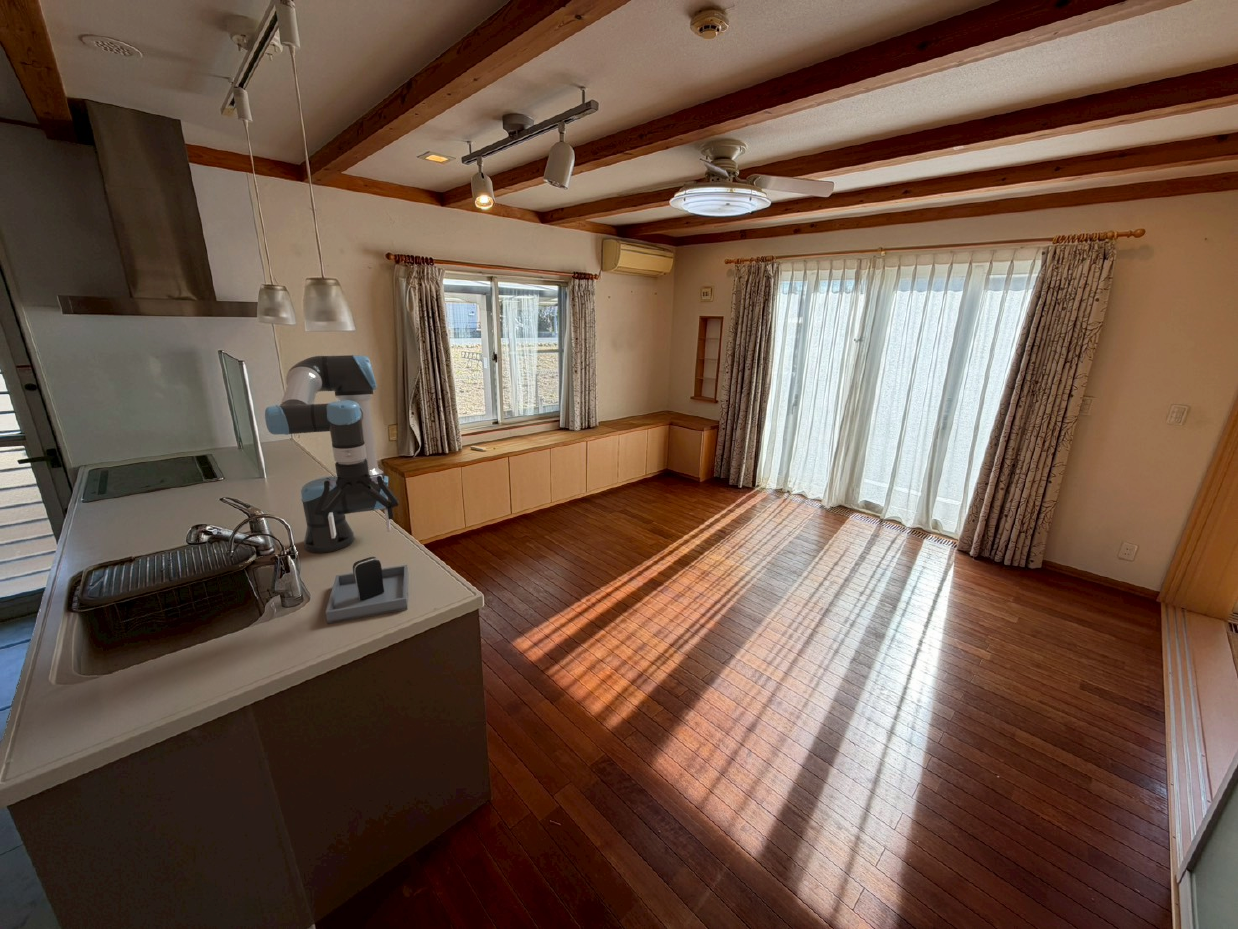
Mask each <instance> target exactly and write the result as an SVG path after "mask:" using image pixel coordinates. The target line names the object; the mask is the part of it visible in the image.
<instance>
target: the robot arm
mask: <svg viewBox="0 0 1238 929" xmlns="http://www.w3.org/2000/svg"><path fill="white" fill-rule="evenodd" d="M376 381H377V380H376V377H375V373H374V371H373V366H372V362H371V360H370V358H369V357H368V356H366V355H354V354H352V355H347V354H346V355H315V356H311V357H307V358H304V359H303V360H300V361H299V362H297V363H295V364H294V365H292V367H291V368H289V370H288V372H287V374H286V376H285V383H286V388H285V391H284V393H283V397H282V399H281V401H280V405H278V404H277V405H272V406H271V405H270V406H267V407H266V408H265V411H264V420H265V425H266V429H267V431H268V433H269V434H272V435H276V436H277V435H286V436H289V435H295V434H308V433H309V434H310V433H323V432H324V433H325V432H329V433H330V439H331V446H332V453H333V459H334V461H335V464H334V465H335V471H336V472H335V473H336V476H335V475H334V476H333V475H332V476H324V477H320V478H316V479H313V480H310V481H309V482H307V483H305V484H304V485H302V487H301V490H300V493H301V502H302V505H303V506H302V507H303V511H304V517H305V522H306V530H305V535H304V540H303V544H304V548H305V550H306V551H307V552H310V553H314V554H321V553H322V554H323V553H331V552H335V551H338V550H341V549H344V548H346V547H348V546H350V545H351V544H352V543H353V542H354V541H355V535H354V532H353V530H352V528H351V526H350V524H349V523H348V521H347V519H346V515H349V514H356V513H363V512H374V511H378V510H384V517H385V525H386V531H387V532H391V520H393V519H394V510H393V508H395V507H398V506H399V504H400V501H399V499H398V498H397V496H396V494H394V492H393V491H392V489H391V488H390V487H389V476H388V475H387V476H386V475H384V471H383V470H382V469H380V468H379V465H378V460H377V459H378V458H377V450H376V449H377V448H376V442H375V434H374V428H373V426H374V425H373V420H372V412H371V404H370V400H371V398H372V397H373V396H374V391H376V390H377V389H378V386H377V382H376ZM318 392H334V397H335V398H336V399H338V400H336V401H332V402H329V403H315V399H316V397H317V396H316V395H317V393H318ZM314 403H315V404H314Z"/></svg>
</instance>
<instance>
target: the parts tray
mask: <svg viewBox="0 0 1238 929" xmlns="http://www.w3.org/2000/svg"><path fill="white" fill-rule="evenodd" d="M381 568H382V567H381ZM408 568H409V567H408V564H403V565H397V566H396V565H395V566H391V567H383V568H382V576H383V587H384V593H381V594H379V595H376V596H374V597H371V598H368V599H365V600H360V599H359V597H358V589H357V585H356V581H355V579H354V574H353V572H351V573H344V574H338V575H337V574H336V575H335V578H334V581H333V585H332V588H331V591H330V596H329V598H328V602H327V607H326V610H325V617H326V618H325V619H326V623H327V625H330V624H335V623H341V622H345V621H346V622H348V621H350V620H357V619H363V618H367V617H372V616H380V615H384V614H385V615H386V614H389V613H395V612H401V611H407V610H408V606H409V603H408V602H409V570H408Z"/></svg>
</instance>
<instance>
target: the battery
mask: <svg viewBox="0 0 1238 929" xmlns="http://www.w3.org/2000/svg"><path fill="white" fill-rule="evenodd" d="M352 573H353V574H354V579H355V581H356V585H357V589H358V597H359V599H360V600H365V599H368V598H371V597H374V596H376V595H379V594H381V593H384V587H383V576H382V562H381V560H380V559H378V558H377V557H375V556H371V557H370V556H369V557H366V558H363V559H360V560H357V561H355V562H354V563H353V565H352Z"/></svg>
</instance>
